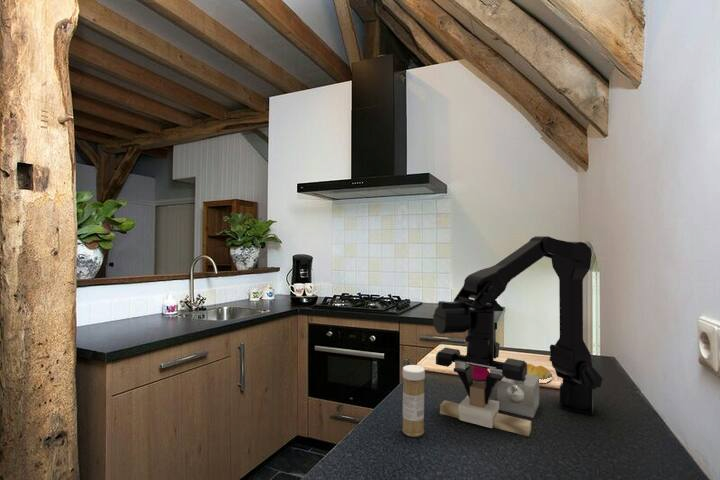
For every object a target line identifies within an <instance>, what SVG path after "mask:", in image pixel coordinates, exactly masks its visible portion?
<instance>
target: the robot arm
mask: <svg viewBox="0 0 720 480" xmlns="http://www.w3.org/2000/svg"><path fill="white" fill-rule="evenodd" d="M544 257H545V258H548V259H551V264H552V268H553V270H554V272H555V274H556V276H557V277H558V280H559V284H558V285H559V287H558V289H559V291H558V292H559V294H558V295H559V297H558V299H559V307H558V308H559V337H558V340H557V341H556V343H555V344H550V346H549V351H550V352H549V353H550V355H549V360H548V361H550V362H551V366H552V368H553V369H554V370H555V374H556V376H557V377H558V378H561V379H562V383H560V385H559V403H560V404H561V406H560V408H561V409H563V410H568V411H572V412H577V413H581V414H585V415H593V414H594V408H595V407H594V390H596V389H597V388H600V387H601V385H602V383H603V377H602V376H601V375H600V374H599V373H598V372H597V370H596V369H595V368H594V367H593V362H592V356H591V355H592V354H591V352H590V350H589V348H588V347H587V345H586V343H585V341H584V282H583V281H584V279H585V277H586V275H588V272H589V271H590V270H591V264H592V263H591V262H592V257H593V253H592V248H591V247H590V246H589V245H588V244H587V243H585V242H582V241H566V240H562V239H557V238H554V237H551V236H546V235H545V236H541V235H539V236H536V235H535V236H534V237H531V238H530V239H529V241H528V242H526V243H525V244H523V245H521V247H519V248H518V249H516V250H514V251H513V252H512V253H510V254H509V255H508V256H506V257H504V258H503V259H502V260H500V261H499V262H497V263H496V264H494V265H492V266H489V267H487V268H482V269H479V270H477V271H475V272H473V273H470V274H469V275H467V276H466V277H465V278H464V283H463V286H462V287H461V288H460V290H459V291H458V293H457V295H456V296H455V298H454V299H453V301H443V300H441V301H438V302H437V303H438V304H437V307H436V308H435V309H434V310H435V311H434V314H433V315H432V320H433V327H434V329H435V331H436V333H438V334H439V335H442V334H443V335H444V334H445V335H446V334H462V333H466V336H465V342H466V355H465V354H461V351H460V349H457V348H456V349H455V348H452V347H444V348H442V349H441V350H439V351H438V352H437V353H436V355H435V365H437V366H441V367H442V366H443V367H447V368H448V367H450V366H451V365H452V364H453V363H454V368H453V372H454V373H457V375H458V376H459V378H460V380H461V381H462V382H461V383H462V384H463V386H464V389H465V391H466V394H467V395H468V396H469V399H470V386H471V385H472V384H473V383H474V379H473V367H474V366H477V367H482V368H487V370H489V374H488V375H487V376H486V380H485V383H486V390H485V403H486V404H488V402H489V400H491V397H492V395H493V392H494V389H495V386H496V385H497V381H501V380H502V379H503V377H505V378H507V379H512V380H517V381H523V379H524V378H525V376H526V374H527V364H528V363H527V362H526V361H525V360H521V359H517V358H516V359H515V358H510V357H508V358H507V359H506V360H505V361H498V360H495V359H497V358H499V355H500V353H499V352H500V346H501V344H500V343H499V342H497V341H496V335H495V312H503V311H504V310H505V308H504V307H502V305H501V304H499V303H498V301H497V299H498V298H499V297H500V296H502V294H503V293H504V292H505V291H506V288H507V286H508V284H509V283H510V282H511V280H513V279H515V278H516V277H518V275H520V274H521V273H523V272H524V271H526V270H527V269H528V268H530V267H532V266H533V265H534V264H535V263H537V262H538V261H540V260H541V259H543V258H544ZM472 361H473V362H472ZM525 362H526V363H527V364H526V363H525ZM483 363H484V364H483Z"/></svg>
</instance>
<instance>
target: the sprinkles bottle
mask: <svg viewBox="0 0 720 480" xmlns="http://www.w3.org/2000/svg"><path fill="white" fill-rule="evenodd" d="M425 378H426V369H425V367H423V366H421V365H417V364H408V365H404V366H403V367H402V379H403V380H402V382H403V384H402V385H403V386H402V429H401V430H402V432H403V434H405V436H408V437H413V438H414V437H415V438H416V437H421V436H422V435H424V433H425V428H424V419H425Z"/></svg>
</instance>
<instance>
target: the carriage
mask: <svg viewBox="0 0 720 480" xmlns="http://www.w3.org/2000/svg"><path fill="white" fill-rule="evenodd" d="M485 390H486V382H480V381H477V380H476V381H473V384H472V385H471V386H470V399H469V396H468V394H467V395H466V396H465V398H463V400H461V402H459V403H458V404H459V410H458V412H459V418H458V419H459V421H463V422H465V423H470V424H475V425H478V426H482V427H485V428H488V429H493V428H494V427H493V417H494V415H495V414H496V413H499V410H498V409H499V401H497V400H494V399H490V400H489V402H488V404H486V403H485Z"/></svg>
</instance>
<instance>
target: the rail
mask: <svg viewBox="0 0 720 480" xmlns="http://www.w3.org/2000/svg"><path fill="white" fill-rule="evenodd" d="M459 404H460V403H457V402H453V401H450V400H445V399H444V400H443V402H441V403H440V404H439V414H440V415H444V416H448V417H451V418H456V419H459V412H458V410H459ZM492 428H495V429H498V430H502V431H506V432H511V433H515V434H518V435H521V436H525V437H530V434H531V432H532V420H529V419H524V418H520V417H516V416H511V415H508V414H503V413H499V412H498V413H496V414H495V415H494V417H493V427H492Z"/></svg>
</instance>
